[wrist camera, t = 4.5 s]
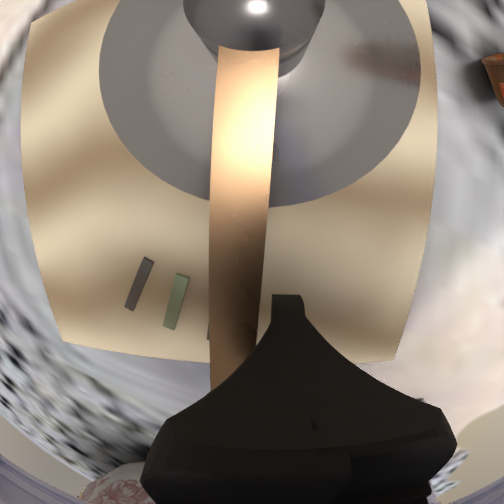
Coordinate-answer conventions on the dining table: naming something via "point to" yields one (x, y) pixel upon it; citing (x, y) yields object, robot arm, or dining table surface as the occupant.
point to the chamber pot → (118, 487)
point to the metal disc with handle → (256, 118)
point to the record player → (205, 218)
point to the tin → (496, 74)
